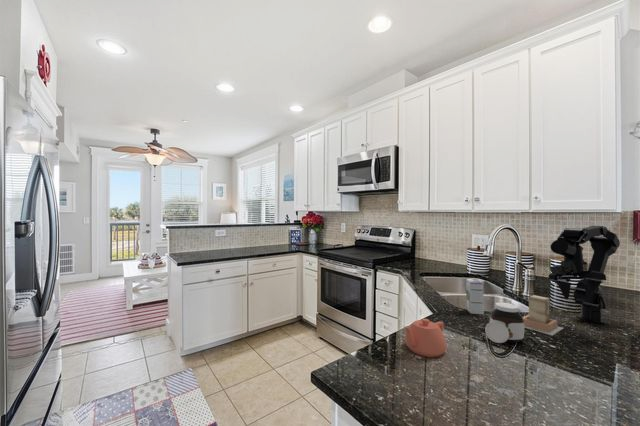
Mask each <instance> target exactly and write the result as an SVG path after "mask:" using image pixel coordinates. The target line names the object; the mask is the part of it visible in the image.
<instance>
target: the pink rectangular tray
mask: <svg viewBox="0 0 640 426" xmlns="http://www.w3.org/2000/svg"><path fill="white" fill-rule="evenodd" d="M522 318H523V320H524V329H527V330H532V331H536V332H537V333H538V332H539V333H542V334H545V335H548V336H552V337H553V336H554V335H556V334H558V333H560V331H562V330H564V327H563V326H559V325H558V320H556V319H552V318H549V323H548V324H544V323H541V322H537V321H533V320H529V314H526V315H524V316H522Z"/></svg>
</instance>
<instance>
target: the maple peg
mask: <svg viewBox="0 0 640 426" xmlns="http://www.w3.org/2000/svg"><path fill="white" fill-rule="evenodd" d="M528 315H529V320H533V321H537V322H541V323H544V324H548V323H549V319H550V297H545V296H540V295H534V294H533V295H531V296H529V297H528Z"/></svg>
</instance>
